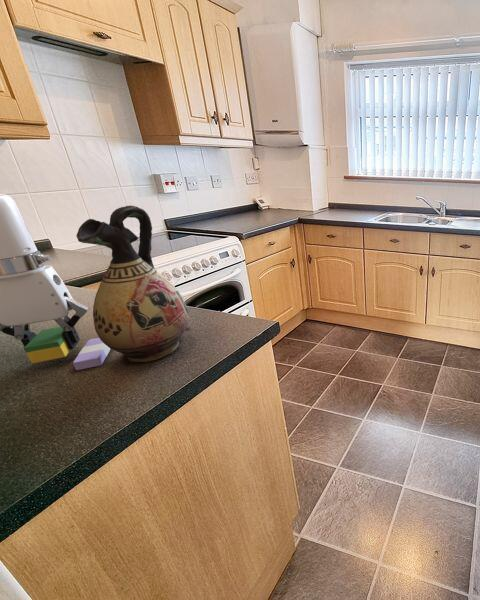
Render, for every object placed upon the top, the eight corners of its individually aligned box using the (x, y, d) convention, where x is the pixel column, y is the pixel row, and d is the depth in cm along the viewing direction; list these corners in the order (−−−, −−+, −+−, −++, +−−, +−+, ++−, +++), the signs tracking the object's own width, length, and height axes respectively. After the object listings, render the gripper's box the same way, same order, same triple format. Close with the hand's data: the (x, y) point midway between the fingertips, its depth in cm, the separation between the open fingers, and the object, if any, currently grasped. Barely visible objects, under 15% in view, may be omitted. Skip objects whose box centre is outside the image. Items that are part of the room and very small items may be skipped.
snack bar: (101, 365, 67) (98, 357, 67) (75, 370, 66) (72, 362, 65) (114, 342, 76) (111, 335, 75) (91, 346, 74) (88, 339, 73)
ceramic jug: (149, 378, 63) (88, 217, 51) (91, 364, 68) (22, 213, 55) (218, 334, 78) (184, 202, 66) (167, 326, 82) (126, 199, 70)
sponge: (49, 344, 71) (41, 329, 70) (79, 338, 73) (72, 324, 72) (31, 363, 65) (23, 348, 63) (65, 356, 67) (57, 341, 65)
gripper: (80, 253, 68) (112, 331, 75) (-40, 266, 61) (9, 351, 68) (66, 263, 62) (103, 347, 69) (-69, 278, 55) (-12, 370, 62)
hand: (56, 348), depth 69 cm, fingers closed on sponge, 5 cm apart
